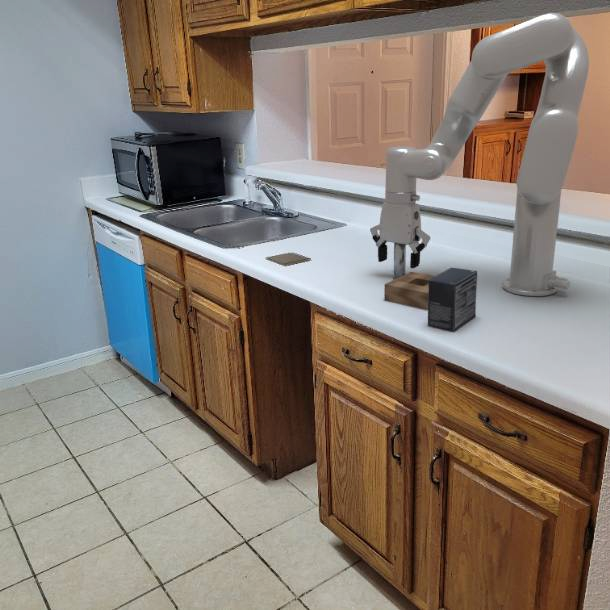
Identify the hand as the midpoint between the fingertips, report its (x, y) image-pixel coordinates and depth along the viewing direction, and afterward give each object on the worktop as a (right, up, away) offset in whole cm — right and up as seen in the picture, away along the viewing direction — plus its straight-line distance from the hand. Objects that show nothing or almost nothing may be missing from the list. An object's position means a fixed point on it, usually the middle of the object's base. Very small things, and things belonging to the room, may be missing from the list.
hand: (398, 263), depth 156 cm
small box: (+7, -14, -28) cm, 32 cm away
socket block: (+3, -9, -13) cm, 16 cm away
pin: (0, -4, +1) cm, 4 cm away
